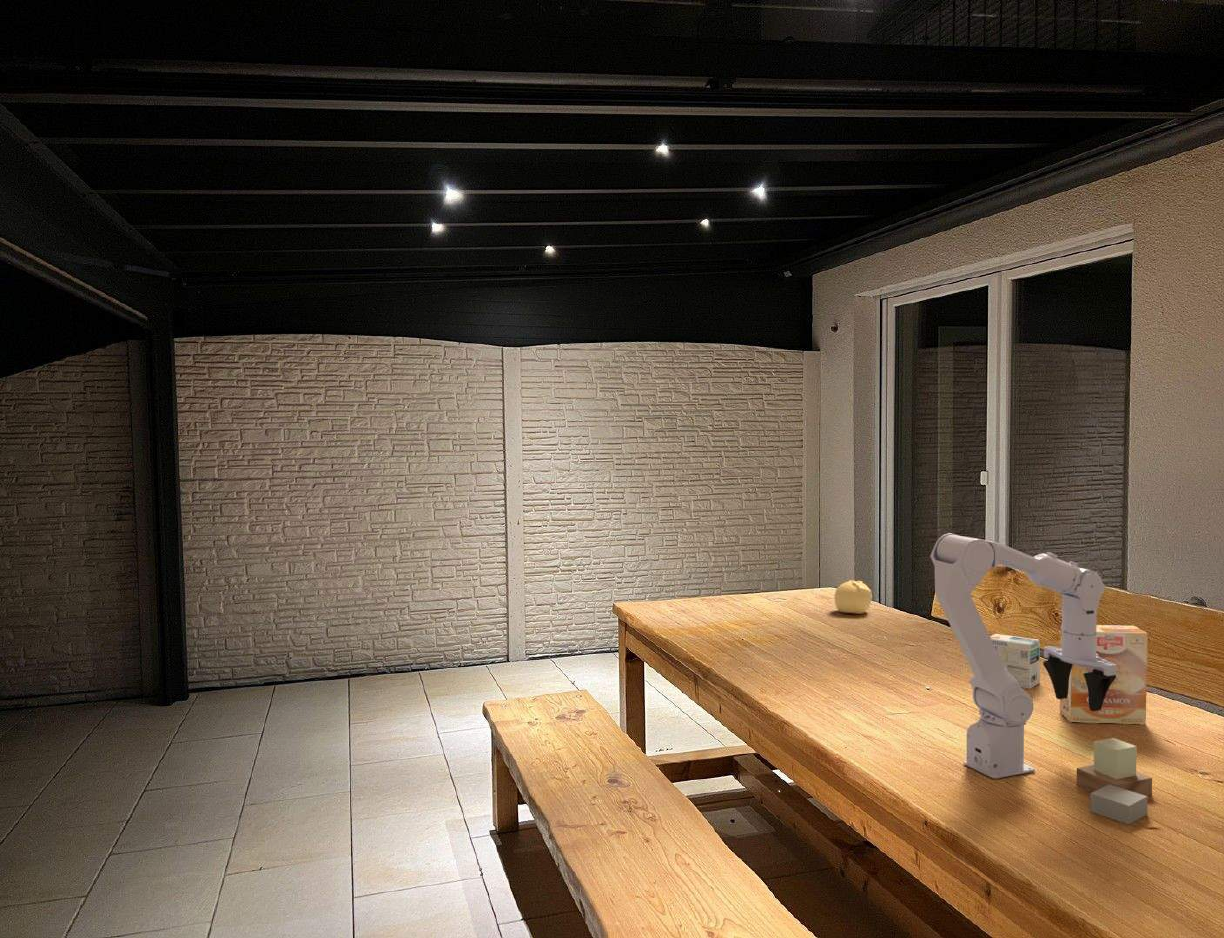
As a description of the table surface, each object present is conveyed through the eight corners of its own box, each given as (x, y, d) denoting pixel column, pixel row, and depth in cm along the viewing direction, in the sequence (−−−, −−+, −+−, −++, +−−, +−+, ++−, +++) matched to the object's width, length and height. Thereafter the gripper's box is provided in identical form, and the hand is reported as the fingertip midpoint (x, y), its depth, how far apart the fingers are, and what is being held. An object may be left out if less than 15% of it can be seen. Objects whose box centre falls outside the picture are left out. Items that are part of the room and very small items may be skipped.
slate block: (1128, 824, 142) (1129, 805, 142) (1090, 811, 147) (1090, 793, 147) (1147, 814, 145) (1147, 796, 145) (1108, 802, 150) (1109, 784, 150)
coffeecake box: (1070, 723, 189) (1071, 631, 188) (1058, 712, 196) (1059, 623, 195) (1147, 725, 187) (1148, 632, 186) (1132, 714, 194) (1133, 624, 193)
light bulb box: (1040, 683, 217) (1041, 638, 217) (1031, 689, 212) (1031, 644, 212) (995, 675, 225) (995, 632, 224) (984, 681, 220) (985, 637, 219)
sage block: (1116, 779, 152) (1116, 750, 152) (1093, 769, 156) (1094, 741, 156) (1136, 775, 154) (1136, 746, 153) (1113, 765, 158) (1113, 737, 158)
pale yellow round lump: (876, 615, 294) (876, 582, 293) (839, 616, 294) (839, 583, 293) (866, 608, 305) (866, 576, 305) (830, 609, 305) (830, 577, 305)
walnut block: (1116, 802, 150) (1116, 784, 150) (1076, 784, 157) (1076, 767, 157) (1151, 795, 153) (1152, 777, 152) (1111, 777, 160) (1111, 761, 160)
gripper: (1129, 638, 163) (1128, 712, 163) (1063, 622, 176) (1063, 690, 177) (1099, 642, 160) (1098, 717, 161) (1035, 625, 174) (1035, 695, 174)
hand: (1078, 704), depth 169 cm, fingers open, 7 cm apart
